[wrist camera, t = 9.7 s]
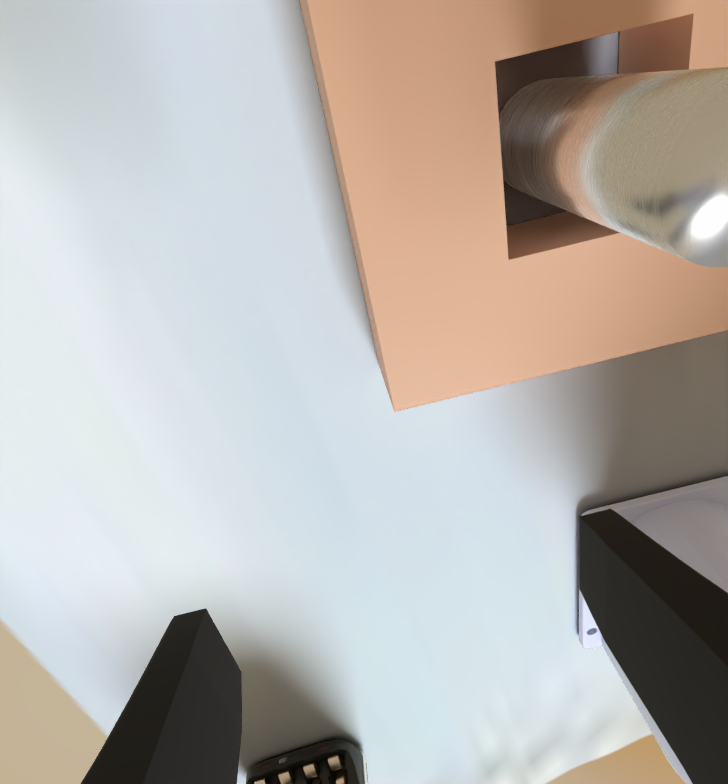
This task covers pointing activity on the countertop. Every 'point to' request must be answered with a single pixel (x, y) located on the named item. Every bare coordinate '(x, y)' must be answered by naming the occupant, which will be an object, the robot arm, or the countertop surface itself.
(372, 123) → the hole block
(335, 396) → the countertop surface
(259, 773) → the battery charger
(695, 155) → the steel peg
